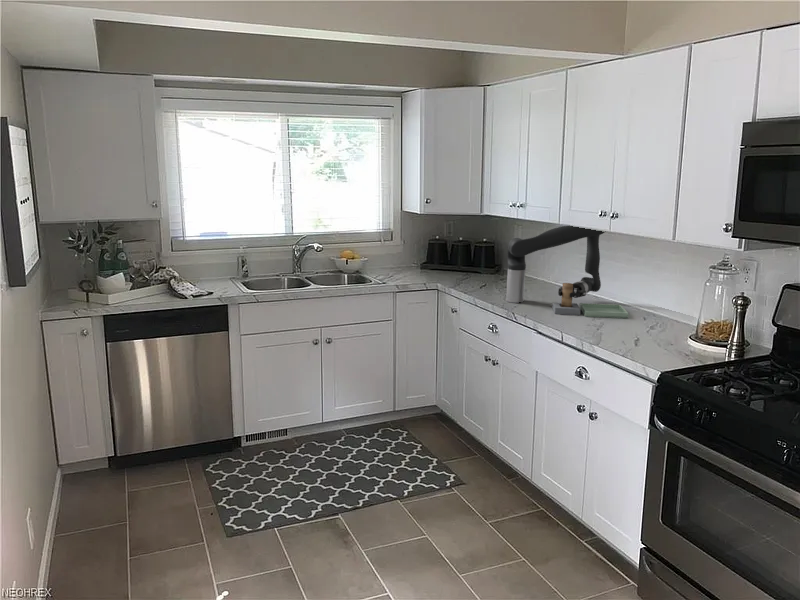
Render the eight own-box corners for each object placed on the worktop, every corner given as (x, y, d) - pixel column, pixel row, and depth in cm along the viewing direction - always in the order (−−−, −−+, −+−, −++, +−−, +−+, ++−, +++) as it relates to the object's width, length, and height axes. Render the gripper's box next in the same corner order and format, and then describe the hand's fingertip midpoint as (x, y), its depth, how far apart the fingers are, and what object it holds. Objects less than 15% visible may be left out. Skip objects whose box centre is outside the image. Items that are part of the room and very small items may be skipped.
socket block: (552, 308, 332) (552, 302, 331) (576, 309, 331) (576, 303, 330) (554, 313, 320) (555, 307, 320) (580, 314, 319) (580, 308, 318)
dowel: (560, 310, 328) (562, 282, 325) (570, 310, 328) (572, 283, 325) (561, 312, 323) (563, 284, 320) (571, 312, 323) (573, 285, 320)
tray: (579, 307, 333) (580, 303, 333) (620, 309, 331) (620, 304, 331) (585, 316, 316) (585, 311, 315) (628, 318, 314) (628, 313, 313)
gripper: (565, 280, 338) (551, 285, 325) (592, 283, 330) (579, 289, 316) (564, 294, 340) (550, 300, 326) (591, 298, 331) (578, 304, 318)
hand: (565, 294), depth 321 cm, fingers closed on dowel, 5 cm apart
